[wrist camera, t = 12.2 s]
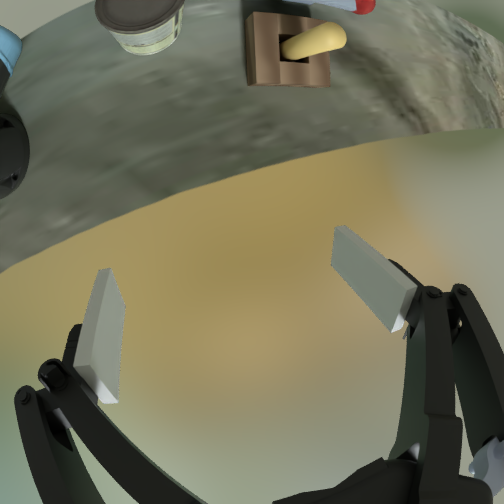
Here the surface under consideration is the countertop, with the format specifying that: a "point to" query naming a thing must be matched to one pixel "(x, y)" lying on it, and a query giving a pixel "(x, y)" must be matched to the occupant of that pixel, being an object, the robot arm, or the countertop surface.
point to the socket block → (267, 52)
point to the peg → (312, 42)
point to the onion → (364, 6)
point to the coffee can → (141, 23)
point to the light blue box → (331, 3)
